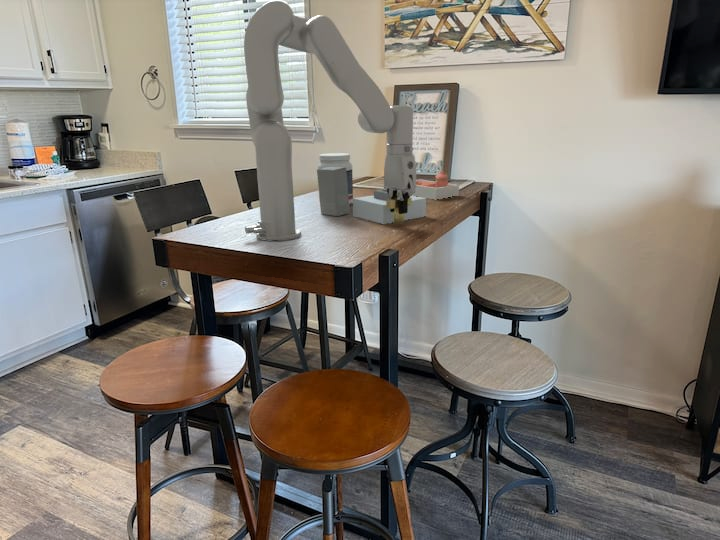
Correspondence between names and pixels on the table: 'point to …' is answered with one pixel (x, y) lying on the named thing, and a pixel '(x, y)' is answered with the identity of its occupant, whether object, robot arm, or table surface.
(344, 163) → the supplement tub
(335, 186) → the skincare box
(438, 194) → the dish tray
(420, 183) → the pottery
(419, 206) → the box
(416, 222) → the table surface
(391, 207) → the t key
